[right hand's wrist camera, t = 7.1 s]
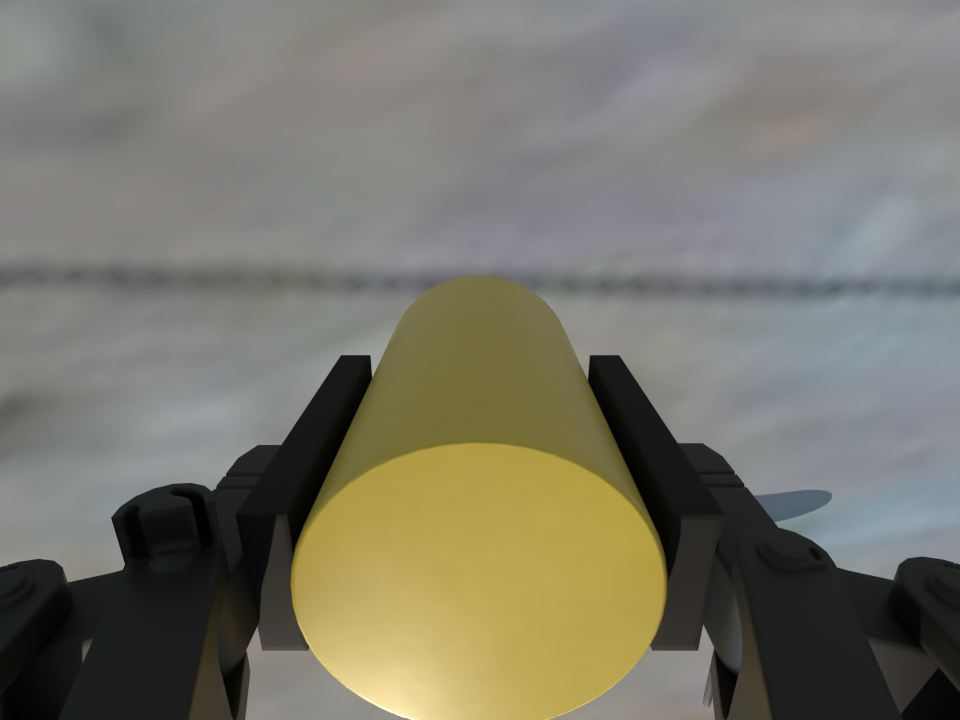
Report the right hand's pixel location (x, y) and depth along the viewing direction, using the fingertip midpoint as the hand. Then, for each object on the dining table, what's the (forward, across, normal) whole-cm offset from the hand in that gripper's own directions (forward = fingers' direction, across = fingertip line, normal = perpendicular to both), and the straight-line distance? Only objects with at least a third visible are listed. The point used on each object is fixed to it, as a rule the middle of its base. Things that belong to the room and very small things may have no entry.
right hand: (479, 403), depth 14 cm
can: (+3, 0, 0) cm, 3 cm away
